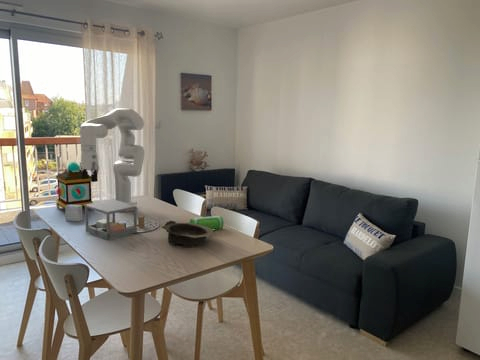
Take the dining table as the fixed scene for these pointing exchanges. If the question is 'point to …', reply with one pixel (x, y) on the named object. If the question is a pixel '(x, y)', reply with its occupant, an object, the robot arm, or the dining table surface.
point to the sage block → (102, 223)
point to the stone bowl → (186, 233)
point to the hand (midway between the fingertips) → (89, 180)
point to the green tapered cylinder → (209, 221)
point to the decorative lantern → (73, 187)
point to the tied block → (119, 226)
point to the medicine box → (73, 213)
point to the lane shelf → (107, 209)
